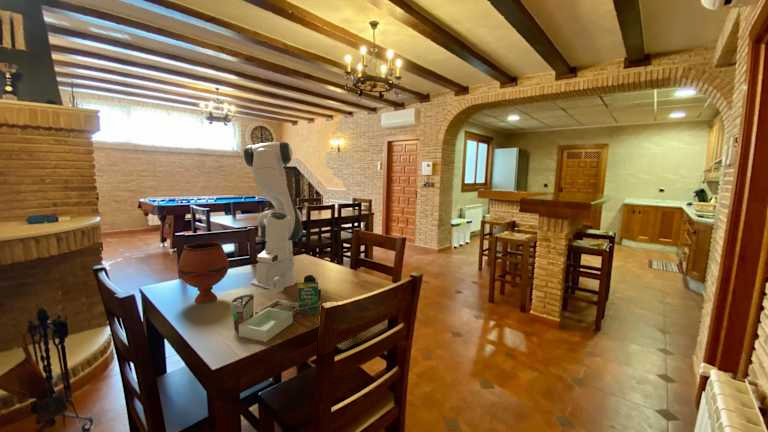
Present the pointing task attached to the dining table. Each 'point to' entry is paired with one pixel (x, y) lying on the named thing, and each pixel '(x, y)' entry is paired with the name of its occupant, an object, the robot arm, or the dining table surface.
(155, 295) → the dining table surface
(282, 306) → the pale grey cube
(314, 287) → the coffee box
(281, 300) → the beech tray
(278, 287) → the off-white cube
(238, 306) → the food container
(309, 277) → the beige square canister
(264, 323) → the sage bin
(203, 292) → the goblet
